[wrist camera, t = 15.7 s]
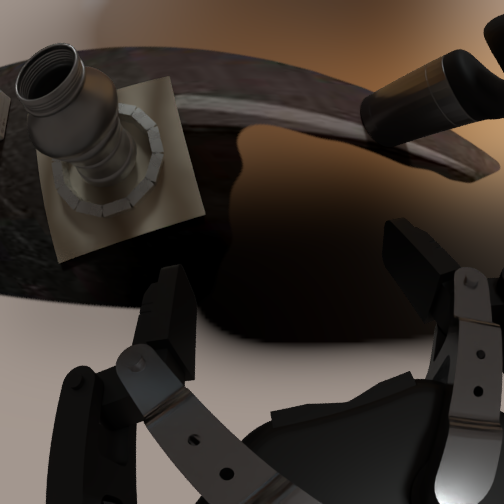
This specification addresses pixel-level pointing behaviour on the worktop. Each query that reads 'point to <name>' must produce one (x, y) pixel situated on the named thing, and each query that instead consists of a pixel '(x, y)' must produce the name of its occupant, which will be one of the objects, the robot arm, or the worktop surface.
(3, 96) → the skincare box
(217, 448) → the robot arm
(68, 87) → the plastic bottle
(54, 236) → the birch board
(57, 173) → the steel collar
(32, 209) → the worktop surface
